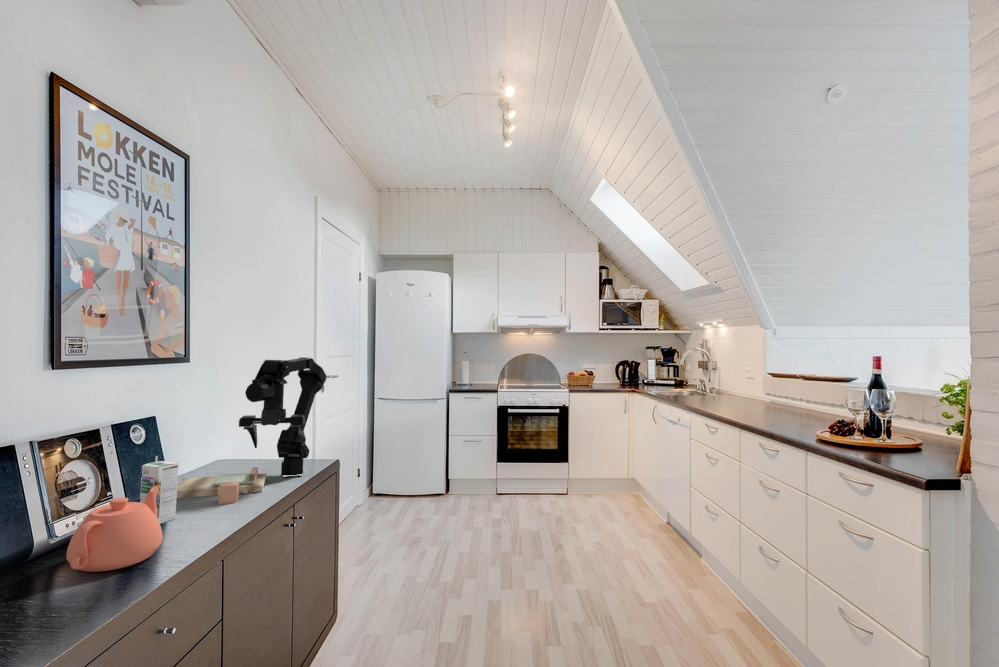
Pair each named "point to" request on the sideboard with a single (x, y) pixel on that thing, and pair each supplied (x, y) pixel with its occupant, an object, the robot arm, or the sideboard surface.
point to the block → (228, 492)
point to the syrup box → (161, 487)
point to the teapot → (116, 535)
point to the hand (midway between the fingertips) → (271, 447)
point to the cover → (238, 477)
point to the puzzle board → (206, 488)
